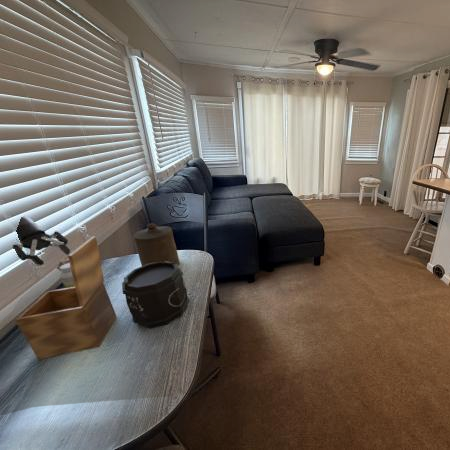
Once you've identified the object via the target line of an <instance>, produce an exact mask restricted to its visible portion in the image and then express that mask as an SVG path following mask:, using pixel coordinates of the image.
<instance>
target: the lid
mask: <svg viewBox="0 0 450 450" xmlns="http://www.w3.org/2000/svg"><path fill="white" fill-rule="evenodd" d="M67 258H68V260H69V263H70V267H71V271H72V275H73V280H74V284H75V288H76V292H77V297H78V301H79V305H80V307H81V306H84V305H85V304H86V302H87V301H88V300H89V299H90V298H91V296H92V295H93V294H94V293H95V291H96V290H97V289H98V288H99V286H100V285H101V284H102V283H104V282H105V278H104V272H103V267H102V262H101V261H102V260H101V257H100V250H99V246H98V241H97V236H96V235H92V236H91V237H90V238H89V239H87V240H86V241H85V242H83V243H82V244H81V245H79V246H78V247H77V248H76V249H74V250H73V251H72V252H70V253H69V254H68V255H67Z"/></svg>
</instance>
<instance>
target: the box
mask: <svg viewBox="0 0 450 450" xmlns="http://www.w3.org/2000/svg"><path fill="white" fill-rule="evenodd" d="M117 318H118V317H117V315H116V311H115V309H114V307H113V304H112V301H111V298H110V296H109V294H108V291H107V289H106V286H105V283H104V282H103V283H102V284H101V285H100V286H99V288H98V289H97V290H96V291H95V293H94V294H93V295H92V296H91V298H90V299H89V300H88V301H87V302H86V304H85V305H84V306H81V307H80V305H79V301H78V297H77V292H76V288H75V287H70V288H65V287H64V288H59V289H58V288H57V289H52V290H46V292H45V293H43V294H42V295H41V296H40V297H39V298H38V299H37V300H36V301H34V302H33V303H32V304H31V305H29V307H27V308H26V309H25V311H23V312H22V313H21V314H19V316H17V317H16V318H15V319H14V320H15V324H17V326H18V328H19V329H20V331H21V333H22V335H23V336H24V338H25V340H26V341H27V343H28V344H29V346H30V348H31V350H32V351H33V353H34V355H35V357H36V358H37V360H38V361H40V360H45V359H49V358H53V357H54V358H55V357H58V356H63V355H67V354H72V353H76V352H77V353H78V352H81V351H85V350H91V349H96V348H99V347H101V345H102V343H103V341H104V340H105V338H106V336H107V335H108V333H109V331H110V330H111V328H112V326H113V325H114V323H115V321H116V320H117Z"/></svg>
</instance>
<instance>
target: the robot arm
mask: <svg viewBox="0 0 450 450" xmlns="http://www.w3.org/2000/svg"><path fill="white" fill-rule="evenodd" d="M16 232H17V234H18V238H19V240H20V242H19V243H20V244H13V245H12V247H11V249H12V248H13V249H15V251H16V253H17V255H18V256H17V255H16V256H17V257H18V258H19V259H20V261H26V260H30V261H32V262H33V263H34V264H35V265H36V266H43V265H44V263H45V262H44V261H43V259H42V258H41V257H39V256H38V255H37V254H36V251H42V250H43V249H47V248H50V247H51V248H59V249H60V251H62V252H63V253H64V254H65V255H66V256H68V255H69V254H71V249H70V248H69V247H68V246H67V245H68V242H69V239H67V238H66V236H64V235H63V234H61V233H60V232H59V231H54V232H53V233H51V234H48V233H46V231H44V229H43V228H41V227H40V226H39V225H38V224H37V223H36V222H35V221H34V220H33V219H32V218H30V217H29V216H27V215H26V216H23V217H21V219H20V222H19V225H18V227H17V230H16ZM23 248H24V249H28V250H29V253H28V254H27V253H26V252H25V251H24V250H23Z"/></svg>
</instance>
